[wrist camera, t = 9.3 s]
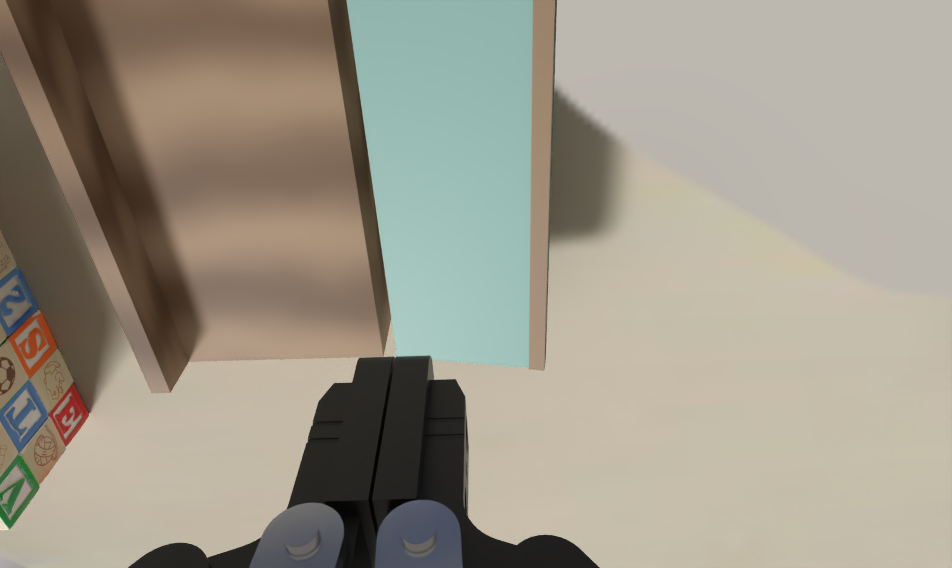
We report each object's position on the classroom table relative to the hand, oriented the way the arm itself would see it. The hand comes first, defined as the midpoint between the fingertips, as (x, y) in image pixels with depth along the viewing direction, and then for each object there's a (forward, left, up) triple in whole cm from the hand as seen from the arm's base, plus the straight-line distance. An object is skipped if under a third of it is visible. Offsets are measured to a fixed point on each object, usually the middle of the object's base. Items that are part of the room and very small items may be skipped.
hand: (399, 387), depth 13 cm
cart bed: (+2, -10, -21) cm, 23 cm away
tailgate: (+2, -3, -17) cm, 17 cm away
